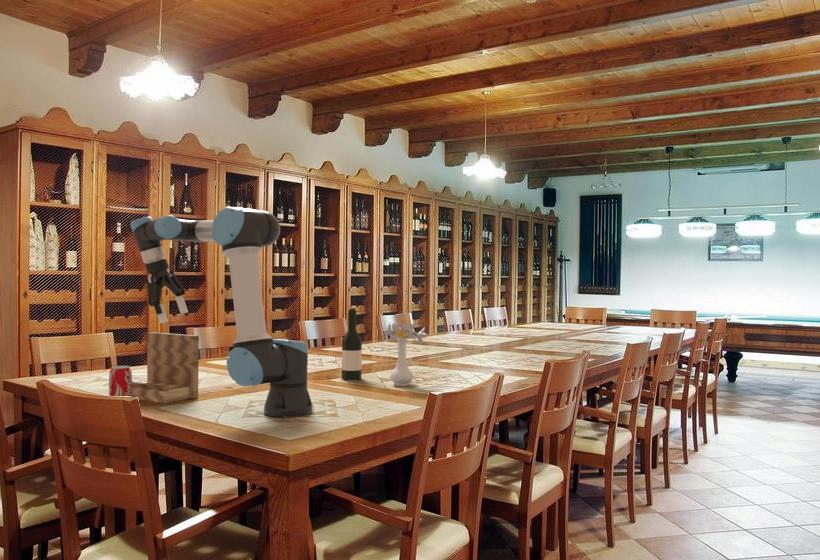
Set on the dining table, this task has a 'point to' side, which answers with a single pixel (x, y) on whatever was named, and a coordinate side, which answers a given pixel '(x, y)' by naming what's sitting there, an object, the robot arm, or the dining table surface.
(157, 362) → the cleat board
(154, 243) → the robot arm
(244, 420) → the dining table surface
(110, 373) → the soda can
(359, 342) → the wine bottle
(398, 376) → the flower vase
